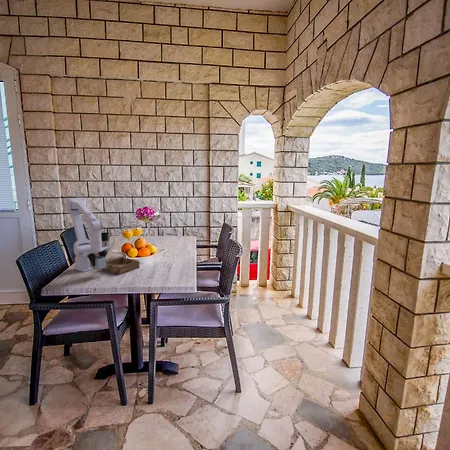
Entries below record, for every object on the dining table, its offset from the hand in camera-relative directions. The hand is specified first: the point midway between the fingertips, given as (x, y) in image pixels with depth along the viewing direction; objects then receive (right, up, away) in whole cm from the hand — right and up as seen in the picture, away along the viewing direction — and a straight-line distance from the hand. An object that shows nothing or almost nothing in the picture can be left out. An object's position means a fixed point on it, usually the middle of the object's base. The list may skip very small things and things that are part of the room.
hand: (97, 264), depth 168 cm
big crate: (+9, -4, +13) cm, 16 cm away
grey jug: (-14, +2, +47) cm, 49 cm away
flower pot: (+7, -1, +33) cm, 34 cm away
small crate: (0, -2, 0) cm, 2 cm away
